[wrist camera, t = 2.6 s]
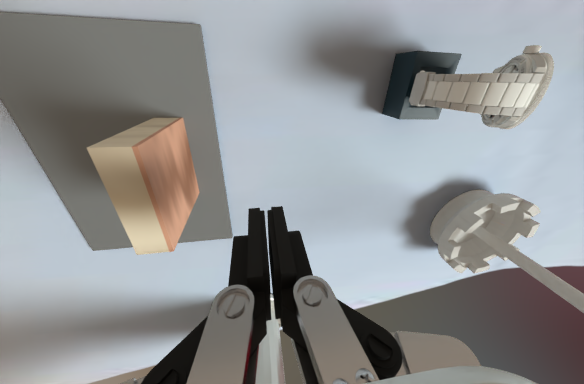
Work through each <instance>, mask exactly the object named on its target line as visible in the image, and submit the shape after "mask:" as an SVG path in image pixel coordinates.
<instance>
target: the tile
mask: <svg viewBox="0 0 584 384" xmlns="http://www.w3.org/2000/svg"><path fill="white" fill-rule="evenodd" d="M87 150H88V152H89V154H90V156H91V158H92V161H93V163H94V165H95V167H96V169H97V171H98V173H99V175H100V178H101V180H102V182H103V184H104V186H105V188H106V190H107V192H108V195H109V197H110V199H111V201H112V203H113V205H114V207H115V209H116V212H117V214H118V216H119V218H120V220H121V222H122V224H123V226H124V229H125V231H126V233H127V235H128V237H129V239H130V241H131V243H132V246H133V248H134V250H135V252H136V254H137V255H140V254H150V253H161V252H171V251H174V249H175V247H176V245H177V243H178V240H179V238H180V236H181V234H182V231H183V229H184V227H185V224H186V222H187V220H188V218H189V215H190V213H191V211H192V209H193V206H194V204H195V202H196V200H197V197H198V195H199V193H200V192H199V188H198V183H197V179H196V174H195V170H194V165H193V161H192V156H191V152H190V147H189V143H188V138H187V134H186V129H185V125H184V120H183V118H152V119H150V120H148V121H145V122H143V123H141V124H139V125H136V126H134V127H132V128H130V129H127V130H125V131H123V132H121V133H118V134H116V135H114V136H112V137H110V138H107V139H105V140H103V141H101V142H98V143H96V144H94V145H92V146H89V147H87Z"/></svg>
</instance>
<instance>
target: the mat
mask: <svg viewBox="0 0 584 384" xmlns="http://www.w3.org/2000/svg"><path fill="white" fill-rule="evenodd" d="M0 98H1V100H2V102H3V103H4V105H5V107H6V108H7V110H8V111H9V113H10V115H11V116H12V118H13V120H14V121H15V123H16V125H17V126H18V128H19V130H20V131H21V133H22V135H23V136H24V138H25V140H26V141H27V143H28V145H29V146H30V148H31V149H32V151H33V153H34V154H35V156H36V158H37V159H38V161H39V163H40V164H41V166H42V168H43V169H44V171H45V173H46V174H47V176H48V178H49V179H50V181H51V182H52V184H53V186H54V187H55V189H56V191H57V192H58V194H59V196H60V197H61V199H62V201H63V202H64V204H65V206H66V207H67V209H68V211H69V212H70V214H71V216H72V217H73V219H74V220H75V222H76V224H77V225H78V227H79V229H80V230H81V232H82V234H83V235H84V237H85V239H86V240H87V242H88V244H89V245H90V247H91V249H92V250H93V251H96V250H107V249H118V248H129V247H133V246H132V243H131V241H130V239H129V237H128V235H127V233H126V231H125V229H124V226H123V224H122V222H121V220H120V218H119V216H118V214H117V212H116V209H115V207H114V205H113V203H112V201H111V199H110V197H109V195H108V192H107V190H106V188H105V186H104V184H103V182H102V180H101V178H100V175H99V173H98V171H97V169H96V167H95V165H94V163H93V161H92V158H91V156H90V154H89V152H88V150H87V147H89V146H92V145H94V144H96V143H98V142H101V141H103V140H105V139H107V138H110V137H112V136H114V135H116V134H118V133H121V132H123V131H125V130H127V129H130V128H132V127H134V126H136V125H139V124H141V123H143V122H145V121H148V120H150V119H152V118H183V120H184V125H185V129H186V134H187V138H188V143H189V147H190V152H191V156H192V161H193V165H194V170H195V174H196V179H197V183H198V188H199V192H200V193H199V195H198V197H197V200H196V202H195V204H194V206H193V209H192V211H191V213H190V215H189V218H188V220H187V222H186V224H185V227H184V229H183V231H182V234H181V236H180V238H179V240H178V243H183V242H194V241H204V240H215V239H226V238H232V229H231V222H230V216H229V209H228V202H227V196H226V189H225V182H224V176H223V169H222V162H221V156H220V149H219V142H218V136H217V129H216V122H215V116H214V109H213V102H212V96H211V89H210V82H209V76H208V69H207V62H206V56H205V49H204V43H203V36H202V29H201V25H200V24H184V23H168V22H152V21H136V20H120V19H104V18H88V17H72V16H56V15H40V14H24V13H8V12H0Z"/></svg>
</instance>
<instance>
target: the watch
mask: <svg viewBox="0 0 584 384" xmlns="http://www.w3.org/2000/svg"><path fill="white" fill-rule="evenodd" d="M541 47H542V46H538V45H533V46H526V47H525V49H524V51H523V54H522V55H519V56H516V57H514V58H512V59H511V60H510V61H509V62H508V63H507V64H505V65H504V66H502V67H500V68H497V69H495V70H494V71H493V73H482V74H481V75H480V74H455V71H456V68H457V65H458V63H459V60H460V57H461V54H456V53H441V52H426V51H414V52H407V53H400V54H396V57H395V61H394V65H393V69H392V74H391V78H390V82H389V87H388V91H387V95H386V99H385V104H384V108H383V112H382V114H384V115H387V116H391V117H394V118H397V119H438V118H439V115H440V112H441V110H442V108H445V109H452V110H459V111H465V110H466V111H465V112H472V113H479V114H481V117H482V121H483V123H484V124H485V125H487V126H489V127H498V128H500V129H511V128H514V127H516V126H517V125H519V124H520V123H522V122H523V121H524V120H525V119H526V118H528V116H529V115H530V114H531V113H532V112H533V111H534V110H535V108H536V107H537V106H538V104H539V103H540V101H541V100H542V98H543V97H544V95H545V93H546V91H547V89H548V86H549V84H550V81H551V78H552V75H553V70H554V61H553V58H552V56H551V55H549V54H548V53H539V51H540V49H541ZM536 53H537V54H536ZM462 81H464V82H462ZM467 105H468V106H467Z"/></svg>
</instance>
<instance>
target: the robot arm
mask: <svg viewBox="0 0 584 384" xmlns="http://www.w3.org/2000/svg"><path fill="white" fill-rule="evenodd" d="M268 237H269V256H270V267H271V278H272V288H273V295H272V294H270V274H269V262H268V250H267V238H266V227H265V215H264V211H260V208H252V209H249V218H248V235H246V236H234V239H233V248H232V257H231V266H230V276H229V285H228V287H226V288H224V289H223V290H222V291H220V292H219V293H218V295H217V296H216V297H215V299H214V301H213V303H212V306H211V309H210V312H209V315H208V317H207V318H206V319H204V320H203V321H202V322H201V323H200V324H199V325H198V326H197V327H196V328H195V329H194V330H193V331H192V332H191V333H190V334H189V335H188V336H187V337H186V338H184V339H183V340H182V341H181V342H180V343H179V344H178V345H177V346H176V347H175V348H174V349H173V350H172V351H171V352H170V353H169V354H168V355H167V356H166V357H164V358H163V359H162V360H161V361H160V362H159V363H158V364H157V365H156V366H155V367H154V368H153V369H152V370H151V371H150V372H149V373H148V374H147V376H145V377H142V378H140V379H137V380H136V379H135V378H132V379H131V380H128V381H125V382H123V383H121V384H285V377H284V368H283V359H282V350H281V341H280V331H279V328H280V327H282V328H283V332H285V333H286V334H287V335H288V336H289V337H291V341H292V344H293V348H294V352H295V355H296V359H297V362H298V366H299V369H300V373H301V376H302V380H303V383H304V384H537V383H535V382H533V381H530V380H528V379H526V378H523V377H521V376H519V375H515V374H513V373H509V372H506V371H503V370H499V369H493V368H489V367H482V366H481V365H480V363H479V361H478V359H477V358H476V356H475V355H474V354H473V353H472V351H471V350H470V349H469V348H468V347H467V346H466V345H465V344H464V343H463V342H461V341H459V340H458V339H456V338H453V337H450V336H444V335H435V334H425V333H415V332H405V331H396V333H389V332H388V331H387V330H385V329H384V328H383V327H381V326H379V325H378V324H376V323H374V322H373V321H371V320H370V319H368V318H366V317H365V316H363V315H362V314H360V313H358V312H357V311H355V310H354V309H352V308H350V307H349V306H347V305H346V304H344V303H342V302H341V301H339V300H337V299H336V297H335V295H334V293H333V291H332V289H331V287H330V286H329V285H328V283H327V282H326V281H325V280H323V279H322V278H320V277H317V276H313V274H312V271H311V268H310V264H309V261H308V257H307V254H306V251H305V247H304V244H303V240H302V237H301V234H300V231H290V232H288V230H287V226H286V221H285V216H284V212H283V207H282V206H281V207H272V208H271V210H268Z"/></svg>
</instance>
